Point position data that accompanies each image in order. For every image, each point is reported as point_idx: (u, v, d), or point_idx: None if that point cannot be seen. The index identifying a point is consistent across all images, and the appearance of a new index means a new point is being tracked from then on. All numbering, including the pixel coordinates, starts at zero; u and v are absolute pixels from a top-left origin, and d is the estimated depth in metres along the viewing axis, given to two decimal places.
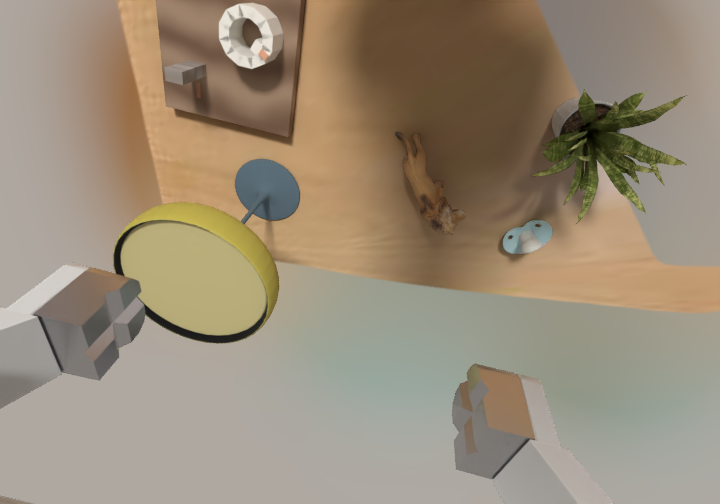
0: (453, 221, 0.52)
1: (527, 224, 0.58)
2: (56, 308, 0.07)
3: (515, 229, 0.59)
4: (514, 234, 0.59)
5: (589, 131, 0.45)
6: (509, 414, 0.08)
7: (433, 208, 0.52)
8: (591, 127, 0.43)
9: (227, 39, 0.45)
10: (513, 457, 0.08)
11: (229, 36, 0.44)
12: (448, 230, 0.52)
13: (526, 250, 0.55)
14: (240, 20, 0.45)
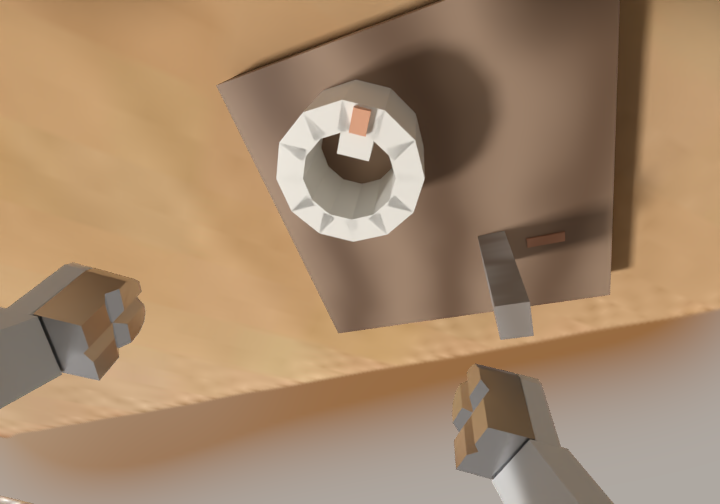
0: None
1: None
2: (56, 308, 0.07)
3: None
4: None
5: None
6: (509, 414, 0.08)
7: None
8: None
9: (377, 217, 0.18)
10: (512, 457, 0.08)
11: (369, 213, 0.18)
12: None
13: None
14: (341, 193, 0.20)
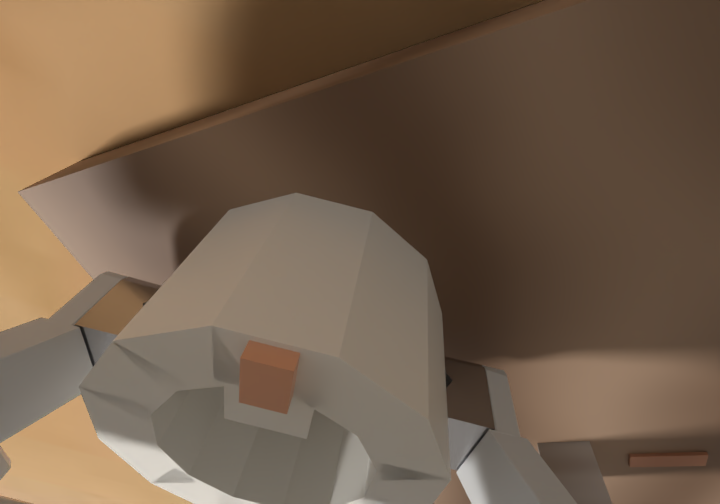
0: None
1: None
2: (97, 318, 0.07)
3: None
4: None
5: None
6: (470, 404, 0.08)
7: None
8: None
9: None
10: (475, 448, 0.08)
11: (321, 499, 0.08)
12: None
13: None
14: None
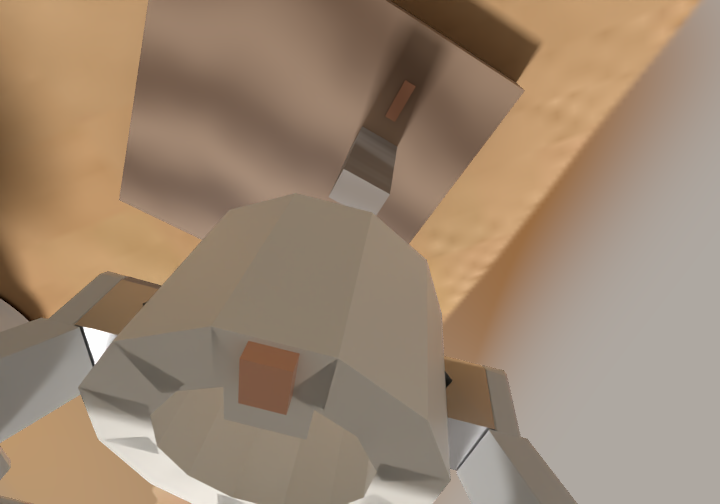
0: None
1: None
2: (96, 319, 0.07)
3: None
4: None
5: None
6: (470, 404, 0.08)
7: None
8: None
9: None
10: (475, 447, 0.08)
11: (321, 500, 0.08)
12: None
13: None
14: None
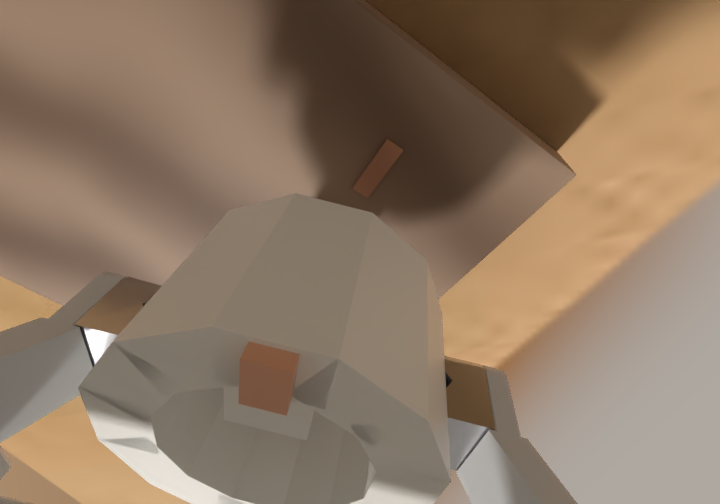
0: None
1: None
2: (97, 318, 0.07)
3: None
4: None
5: None
6: (470, 404, 0.08)
7: None
8: None
9: None
10: (474, 448, 0.08)
11: (321, 501, 0.08)
12: None
13: None
14: None
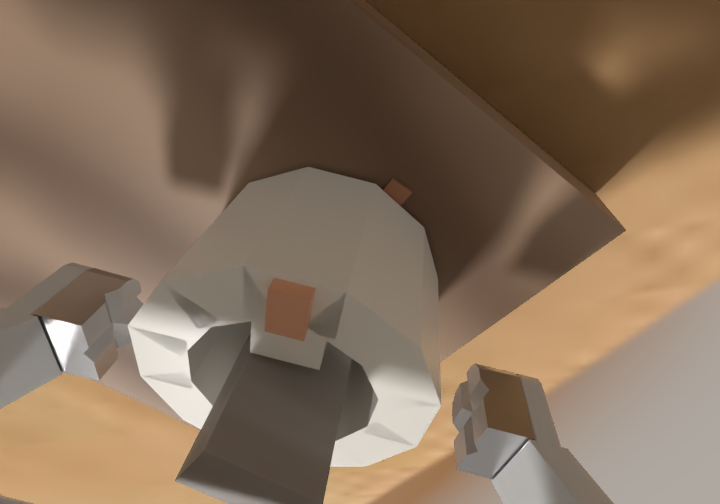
0: None
1: None
2: (56, 308, 0.07)
3: None
4: None
5: None
6: (509, 414, 0.08)
7: None
8: None
9: (345, 443, 0.09)
10: (513, 457, 0.08)
11: None
12: None
13: None
14: None
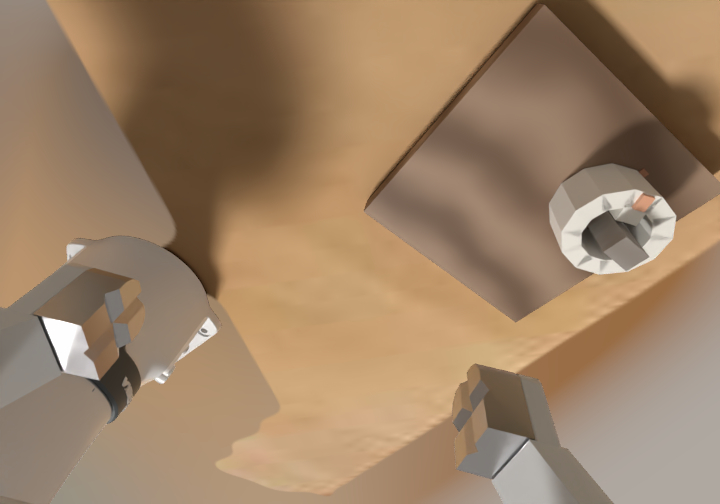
0: None
1: None
2: (56, 308, 0.07)
3: None
4: None
5: None
6: (509, 414, 0.08)
7: None
8: None
9: None
10: (512, 457, 0.08)
11: None
12: None
13: None
14: (583, 238, 0.28)
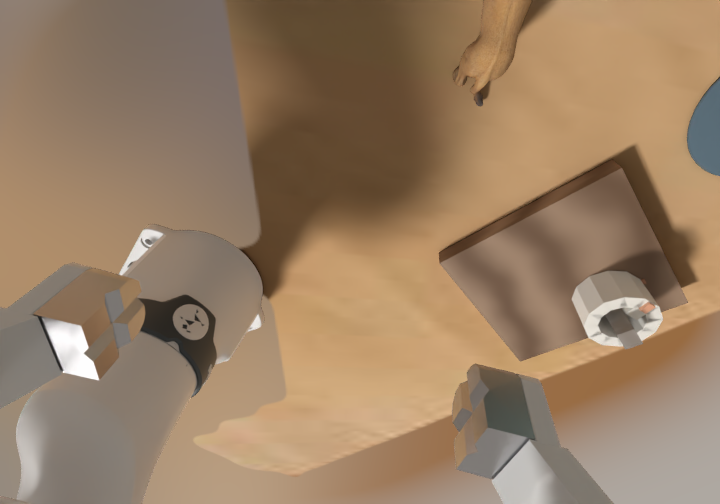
0: None
1: None
2: (56, 308, 0.07)
3: None
4: None
5: None
6: (509, 414, 0.08)
7: None
8: None
9: None
10: (513, 457, 0.08)
11: None
12: None
13: None
14: None
